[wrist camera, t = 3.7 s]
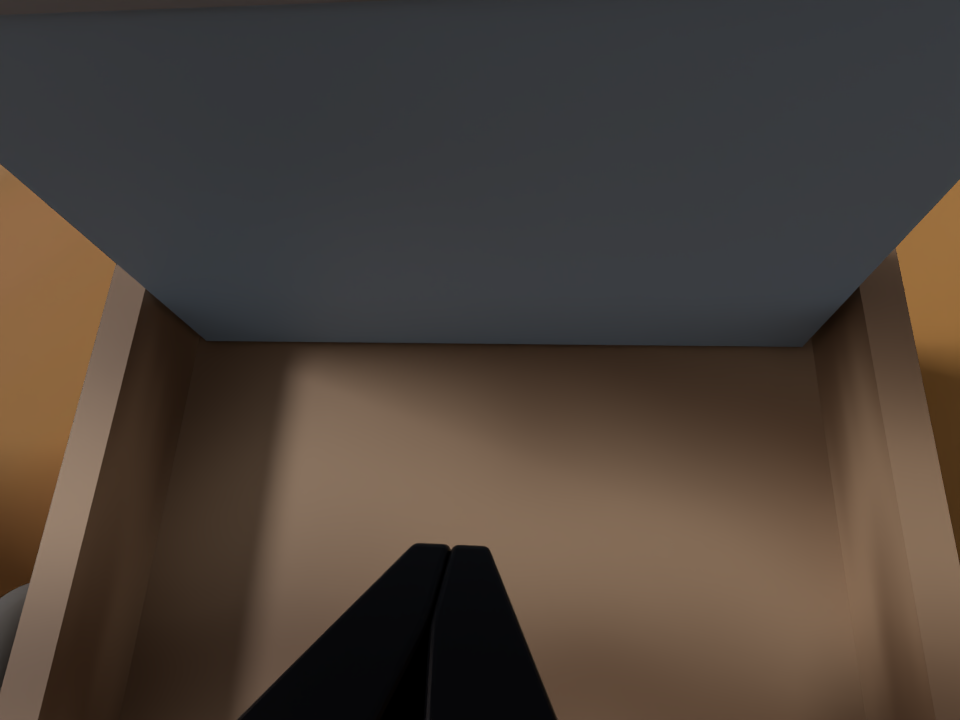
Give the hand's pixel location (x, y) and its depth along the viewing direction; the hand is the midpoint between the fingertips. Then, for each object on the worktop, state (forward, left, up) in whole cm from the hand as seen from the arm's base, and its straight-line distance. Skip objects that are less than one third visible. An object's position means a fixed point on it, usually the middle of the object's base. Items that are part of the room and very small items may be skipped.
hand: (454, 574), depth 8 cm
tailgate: (+7, 0, -7) cm, 10 cm away
